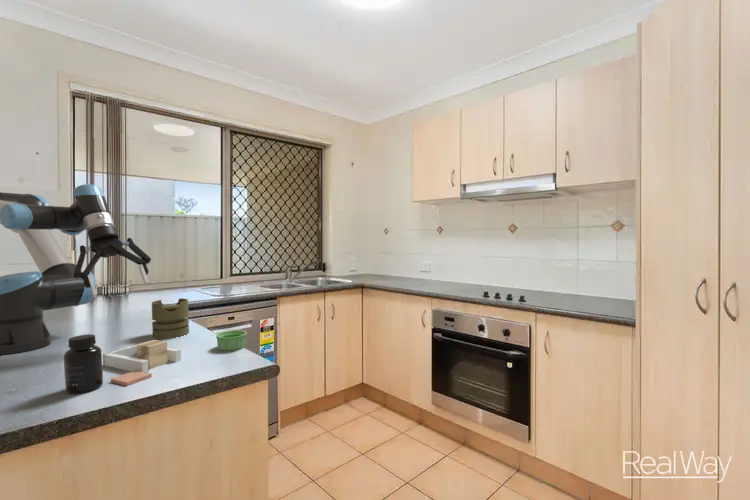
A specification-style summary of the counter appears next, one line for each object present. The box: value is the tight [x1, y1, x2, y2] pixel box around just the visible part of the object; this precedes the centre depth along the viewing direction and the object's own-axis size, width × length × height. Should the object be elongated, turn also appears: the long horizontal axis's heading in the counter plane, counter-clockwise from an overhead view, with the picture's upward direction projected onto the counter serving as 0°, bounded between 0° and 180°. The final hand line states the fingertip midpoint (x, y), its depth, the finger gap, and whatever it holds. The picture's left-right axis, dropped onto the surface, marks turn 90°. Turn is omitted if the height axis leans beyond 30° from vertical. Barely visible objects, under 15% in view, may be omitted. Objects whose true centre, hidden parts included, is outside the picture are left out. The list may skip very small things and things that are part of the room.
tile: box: [110, 370, 153, 387], centre depth 90 cm, size 6×6×1 cm
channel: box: [102, 344, 182, 373], centre depth 102 cm, size 16×11×3 cm
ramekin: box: [215, 329, 248, 352], centre depth 116 cm, size 9×9×4 cm
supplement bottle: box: [63, 333, 104, 395], centre depth 85 cm, size 7×7×12 cm
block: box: [136, 339, 168, 370], centre depth 100 cm, size 5×5×6 cm
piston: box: [151, 298, 190, 340], centre depth 131 cm, size 11×12×11 cm
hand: (122, 290), depth 115 cm, fingers open, 13 cm apart
